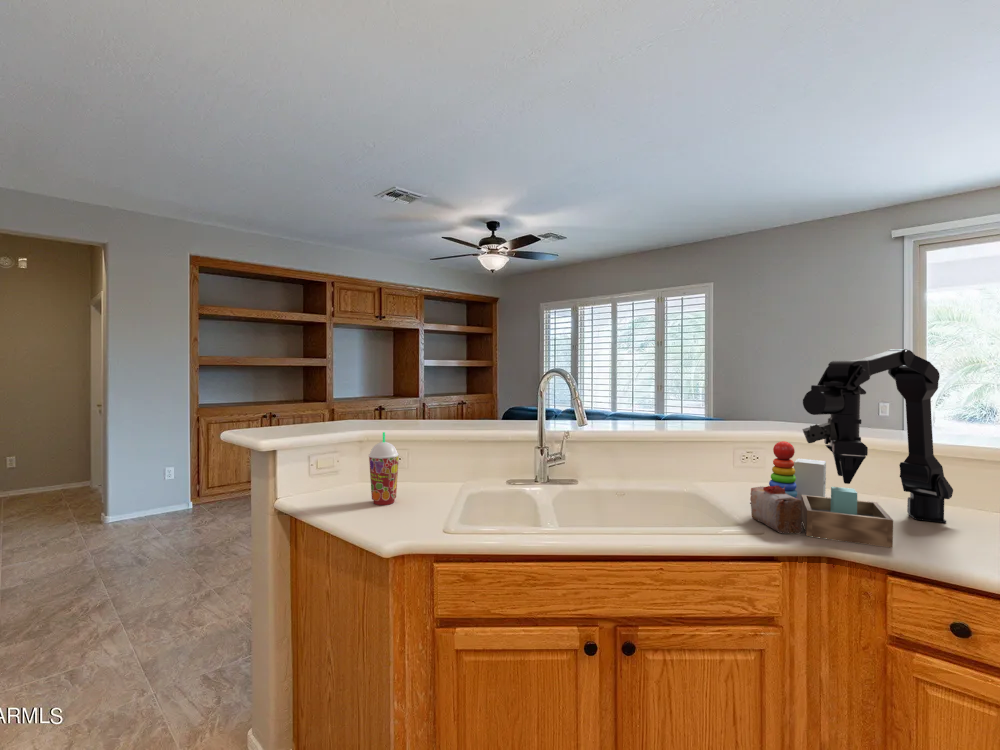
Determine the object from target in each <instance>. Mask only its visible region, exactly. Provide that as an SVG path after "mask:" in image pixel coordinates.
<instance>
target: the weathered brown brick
mask: <svg viewBox="0 0 1000 750" xmlns="http://www.w3.org/2000/svg"><path fill="white" fill-rule="evenodd" d="M784 489H785V487H784V488H781V487H779V485H777V486H770V485H768V486H761V485H760V486H755V487H751V488H750V499H749V500H750V502H749V504H750V511H751V518H752V520H753V519H754V520H756V521H757V522H760V523H762V524H764V525H766V526H767V527H769V528H771V529H772V530H774V531H776V532H778V533H780V534H782V533H783V534H787V533H788V534H796V533H799V534H801V533H802V532H803V523H802V501H801V500H799V499H797V498H794V497H792V496H790V495H788V494H786V493H785V490H784Z"/></svg>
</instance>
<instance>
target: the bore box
mask: <svg viewBox="0 0 1000 750" xmlns="http://www.w3.org/2000/svg"><path fill="white" fill-rule="evenodd" d="M801 501H802V522H803V523H802V526H803V525H804V526H803V528H805V529H804V531H806V532H805V536H806V537H807V536H813V537H812V538H815V537H820V538H819V539H822V538H827V539H826V540H830V539H833V541H838V540H839V541H840V542H845V541H847V542H846V543H855V544H863V545H870V546H876V547H884V548H892V549H893V547H894V545H893V541H894V519H893V518H892V517H891V516H890V515H889V514H888V513H887V512H886V510H885V509H884V508H883V507H882V506H881V505H880V504H879V502H877V501H870V500H859V499H857V515H853V514H843V513H834V512H831V496H830V497H828V496H827V497H826V496H825V497H820V496H810V495H801Z"/></svg>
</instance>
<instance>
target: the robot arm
mask: <svg viewBox="0 0 1000 750" xmlns="http://www.w3.org/2000/svg"><path fill="white" fill-rule="evenodd" d="M886 371H887V373H888V375H889V376H890V377H892V379H893V380H894V381H895V384H896V385H895V386H896V389H897V391H898V393H899V395H901V396H902V397H903V399H904V400H905V413H906V414H905V415H906V416H905V417H906V431H907V432H906V433H907V447H908V448H907V450H908V456H906V458H905V459H904V460H903V461H900V463H899V464H898V465H899V471H900V472H899V473H900V474H899V478H900V481H901V485H902V490H903V492H905V493H906V492H907V493H910V495H909V496H908V497H907V507H906V508H907V509H906V510H907V511H906V512H907V514H908V515H909V516H910V517H911V518H912V519H914V520H917V521H927V522H933V523H934V522H935V523H945V524H946V523H947V520H946V519H945V500H950V499H951V498H952V496H953V494H954V489H953V487H952V486H951V484H950V483H949V481H948V480H947V479H946V477H945V474H944V467H943V465H942V464H941V463H940V461H939V460H938V459H937V457H935V455H934V441H933V439H934V438H933V437H934V436H933V424H932V406H931V401H932V400H931V399H932V397H933V396H934V395H935V393H936V392H937V391H938V388H939V380H940V377H941V376H940V372H939V370H938V369H937V367H935V366H934V365H933V364H932V363H931V361H929V360H927V359H924V358H922V357H920V356H918V355H916V354H915V353H914V352H913V351H912V350H910V349H907V348H905V349H904V348H903V349H901V348H899V349H893V348H892V349H888V350H885V351H883V352H880V353H876V354H872V355H869V356H867V357H863V358H858V359H852V360H850V359H849V360H848V359H847V360H846V359H843V360H841V359H840V360H832V361H829V363H828V365H827V367H826V369H825V371H824V372H823V374H822V375H821V378H820V379H819V381H818V382H817V384H813V385H811V386H810V390H809V391H807V392H806V394H804V397H803V398H802V405H803V408H804V410H805V411H806V412H807V413H808V414H810V415H814V416H815V415H816V416H821V415H830V416H829V417H828V418H827V422H825V423H821V424H817V423H815V424H812V425H809V427H806V428H802V432H803V434H804V437H805V440H806V442H807V444H813V443H815V442H818V441H821V440H824V445H825V447H826V448H827V449H828V450H829V451H830V452H831V453H832V455H833V459H834V464H835V468H836V472H837V476H838V477H842V480H843V484H846V485H849V484H851V483H852V482H853V478H854V477H855V475H856V473H857V471H858V470H859V468H860V467H861V464H862V463H863V462H864V460H865V459H866V458H867V457H868V455H869V453H868V446H867V445H866V444H865V443H863V442H862V437H861V436H860V426H861V425H862V419H861V418H860V416H861V411H860V410H861V395H866V394H867V391H866V390H865V389H863V388H862V387H861V386H862V385H863V384H864V383H867V382H868V381H870V379H871V376H873V375H876V374H880V373H881V372H882V373H883V372H886Z"/></svg>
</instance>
